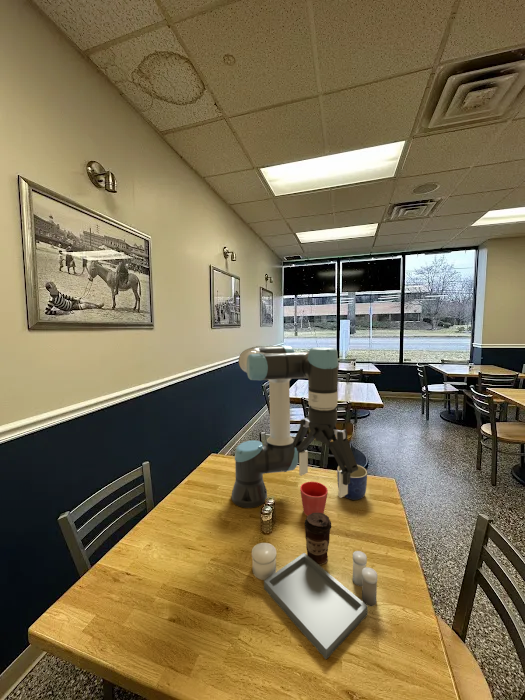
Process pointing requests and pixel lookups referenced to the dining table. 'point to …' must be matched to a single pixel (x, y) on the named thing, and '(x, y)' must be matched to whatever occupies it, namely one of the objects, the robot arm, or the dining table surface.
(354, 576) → the salt shaker
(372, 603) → the pepper shaker
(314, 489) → the flower pot
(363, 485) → the planter
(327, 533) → the coffee cup
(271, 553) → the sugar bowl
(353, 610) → the tray
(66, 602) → the dining table surface
